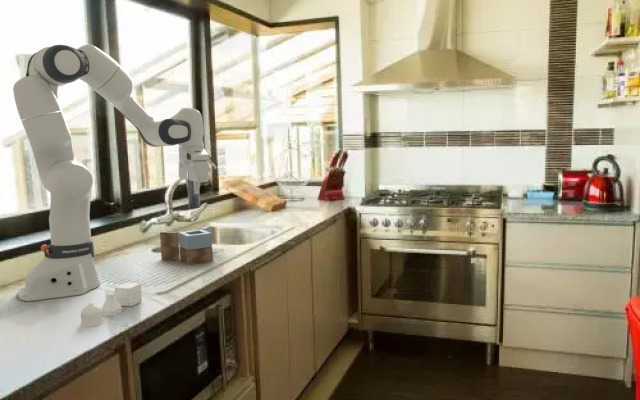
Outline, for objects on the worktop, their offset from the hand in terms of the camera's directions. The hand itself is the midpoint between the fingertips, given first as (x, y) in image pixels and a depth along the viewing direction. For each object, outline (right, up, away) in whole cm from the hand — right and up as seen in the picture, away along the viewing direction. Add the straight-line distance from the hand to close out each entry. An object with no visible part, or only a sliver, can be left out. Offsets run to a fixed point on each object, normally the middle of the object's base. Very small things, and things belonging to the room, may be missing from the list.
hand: (193, 193), depth 186 cm
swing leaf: (+1, -23, +7) cm, 25 cm away
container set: (-10, -33, -49) cm, 60 cm away
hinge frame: (-4, -24, +4) cm, 25 cm away
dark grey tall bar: (0, -5, +1) cm, 5 cm away
